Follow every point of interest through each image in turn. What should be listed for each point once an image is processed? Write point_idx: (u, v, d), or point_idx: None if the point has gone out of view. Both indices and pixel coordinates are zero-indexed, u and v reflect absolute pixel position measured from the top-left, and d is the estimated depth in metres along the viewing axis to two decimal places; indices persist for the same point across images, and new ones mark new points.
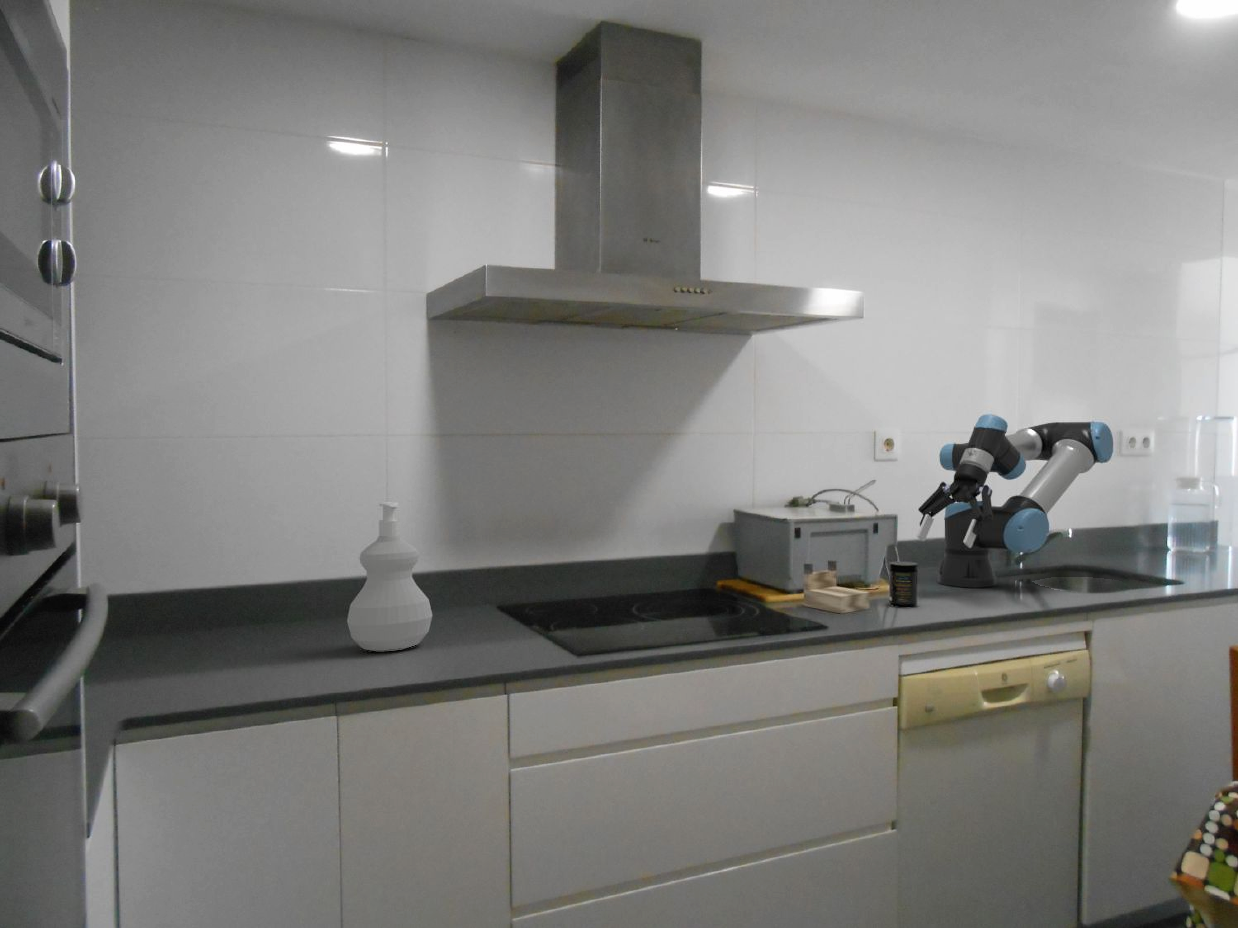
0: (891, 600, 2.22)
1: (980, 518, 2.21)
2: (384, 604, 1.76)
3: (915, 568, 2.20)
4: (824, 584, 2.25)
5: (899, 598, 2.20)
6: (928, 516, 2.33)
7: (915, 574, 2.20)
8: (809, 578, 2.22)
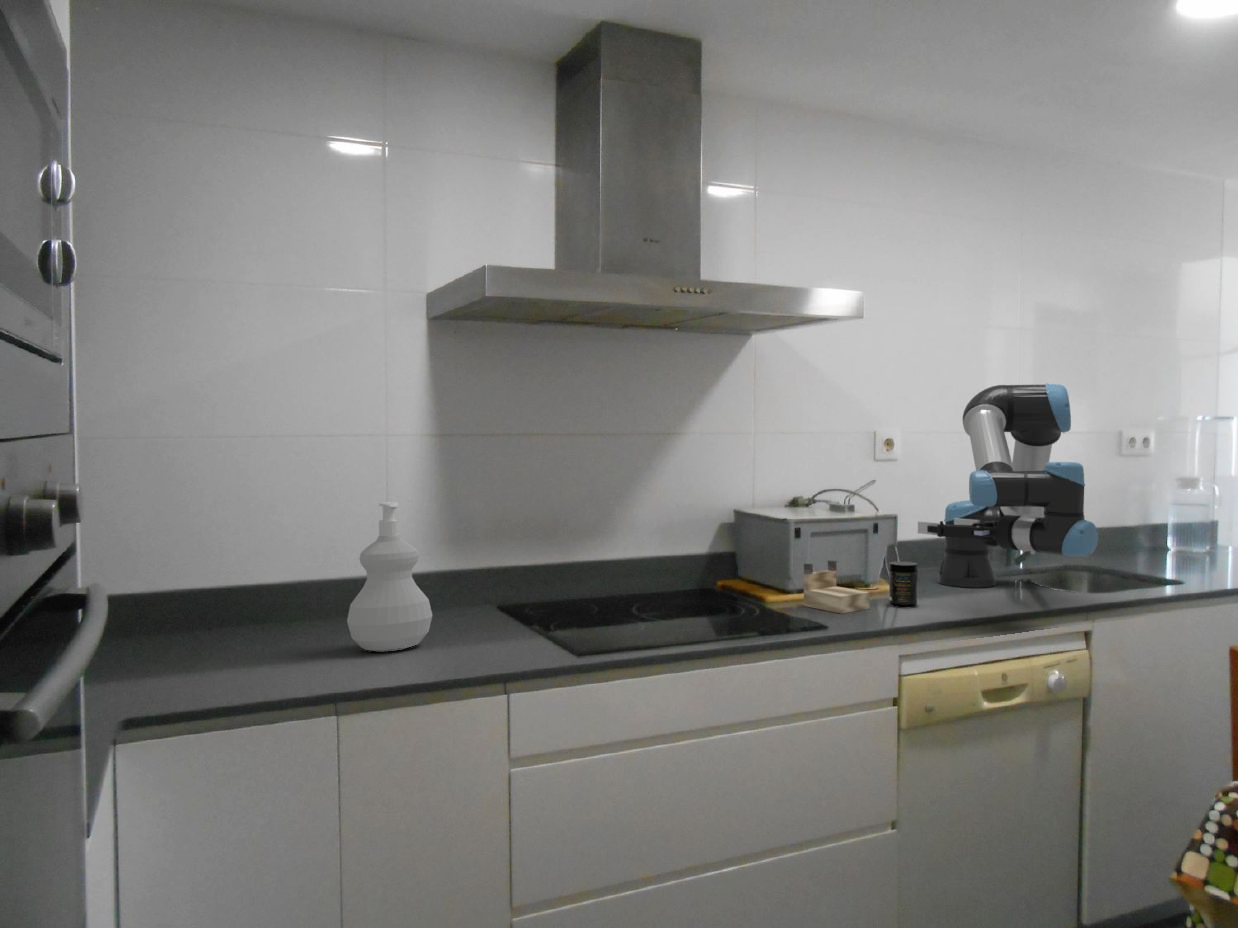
0: (891, 600, 2.22)
1: None
2: (384, 604, 1.76)
3: (915, 568, 2.20)
4: (824, 584, 2.25)
5: (899, 598, 2.20)
6: None
7: (915, 574, 2.20)
8: (809, 578, 2.22)
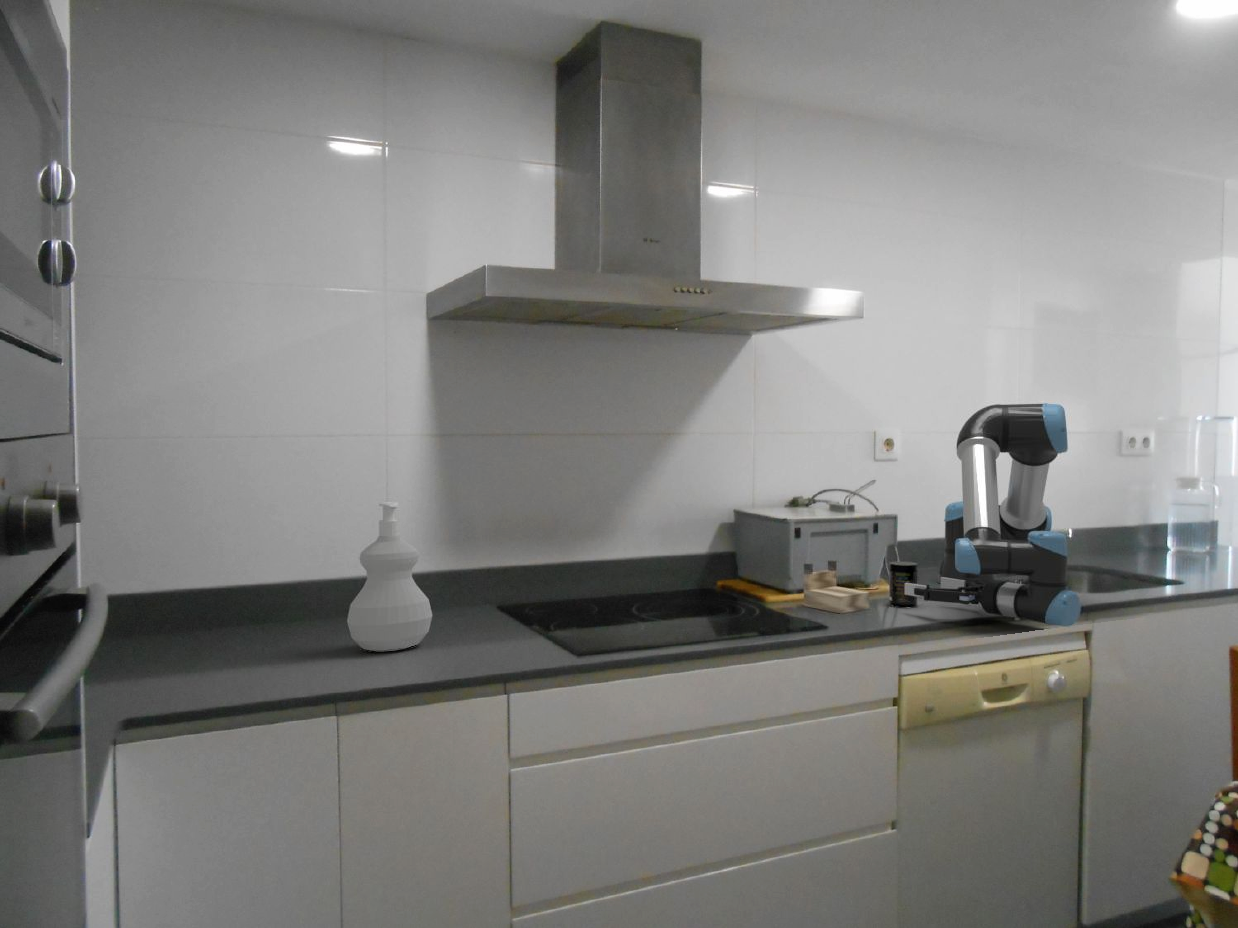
0: (891, 600, 2.22)
1: None
2: (384, 604, 1.76)
3: (915, 568, 2.20)
4: (824, 584, 2.25)
5: (899, 598, 2.20)
6: None
7: (915, 574, 2.20)
8: (809, 578, 2.22)
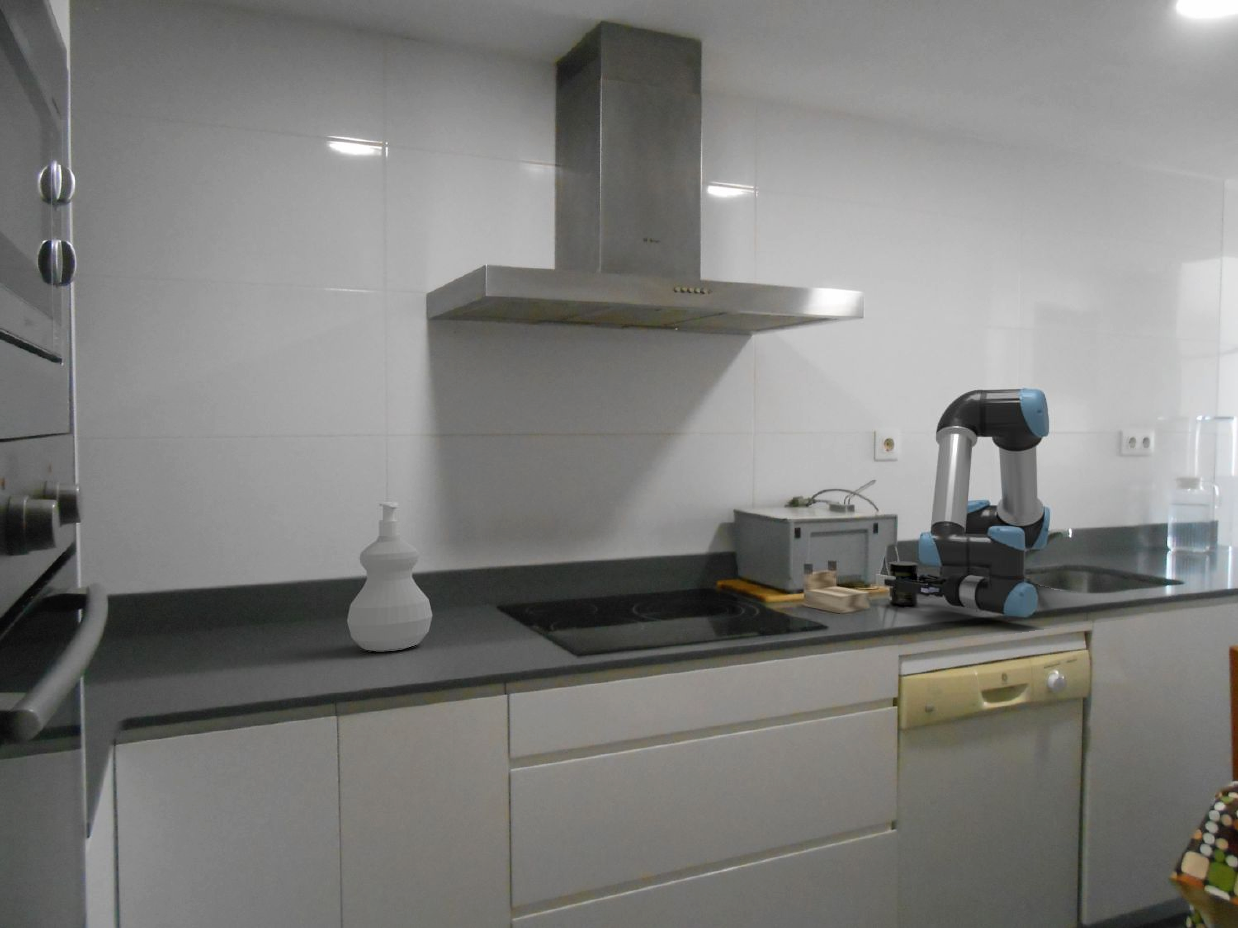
0: (891, 600, 2.22)
1: None
2: (384, 604, 1.76)
3: (915, 568, 2.20)
4: (824, 584, 2.25)
5: (899, 598, 2.20)
6: None
7: (915, 574, 2.20)
8: (809, 578, 2.22)
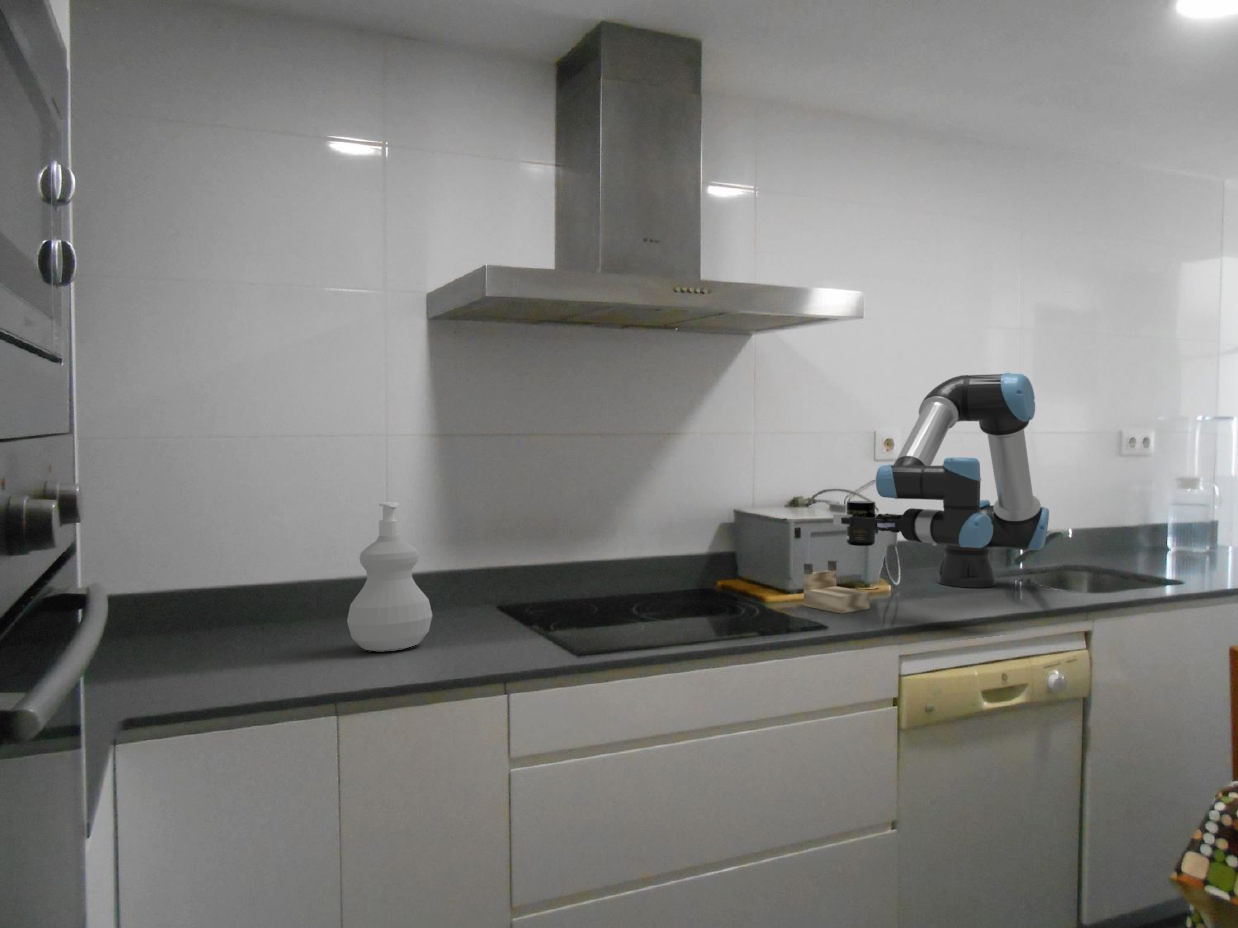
0: (848, 539, 2.19)
1: None
2: (384, 604, 1.76)
3: (872, 506, 2.17)
4: (824, 584, 2.25)
5: (857, 536, 2.17)
6: None
7: (872, 512, 2.18)
8: (809, 578, 2.22)
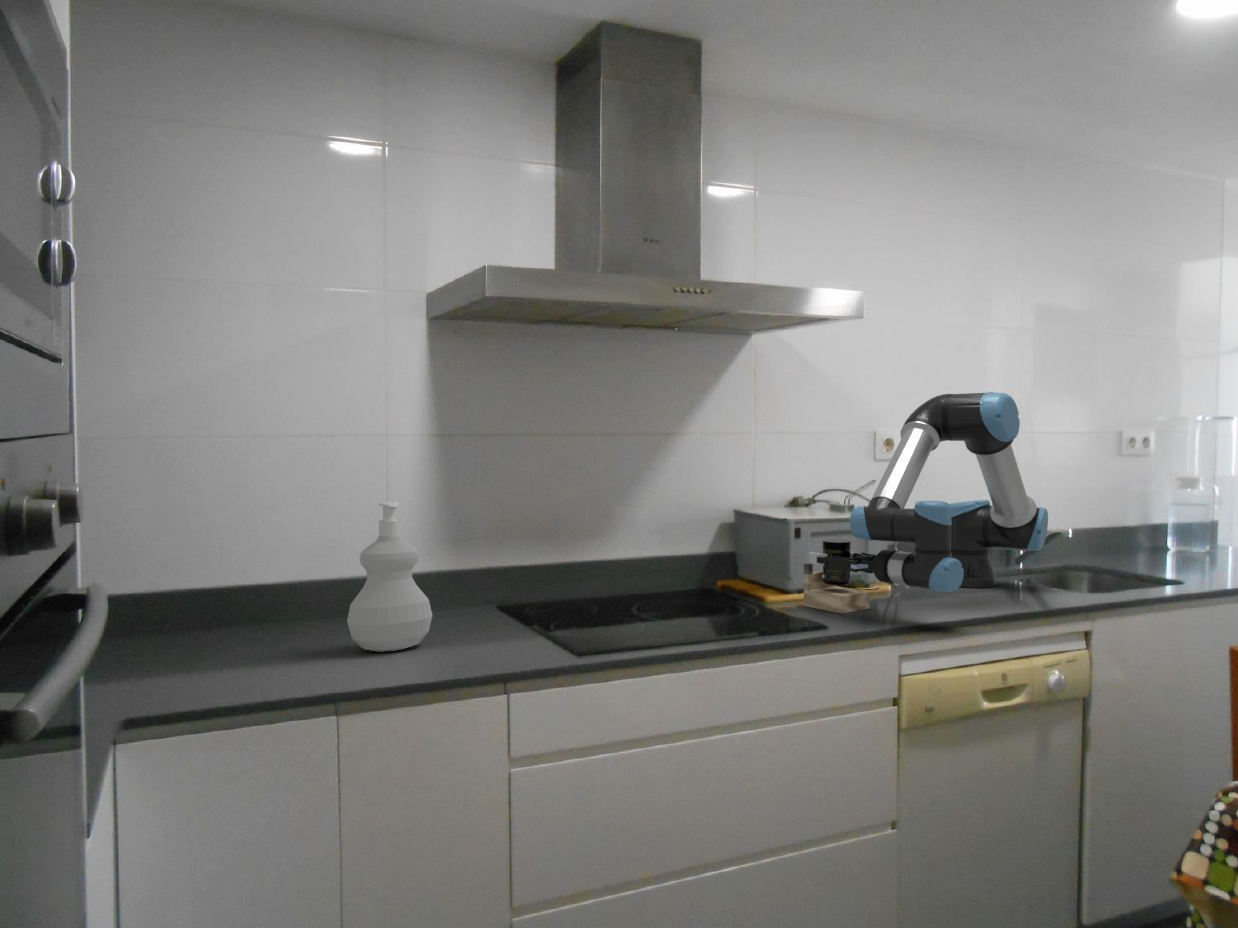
0: (823, 578, 2.20)
1: None
2: (384, 604, 1.76)
3: (848, 545, 2.18)
4: (824, 584, 2.25)
5: (832, 575, 2.18)
6: None
7: (848, 551, 2.18)
8: (809, 578, 2.22)
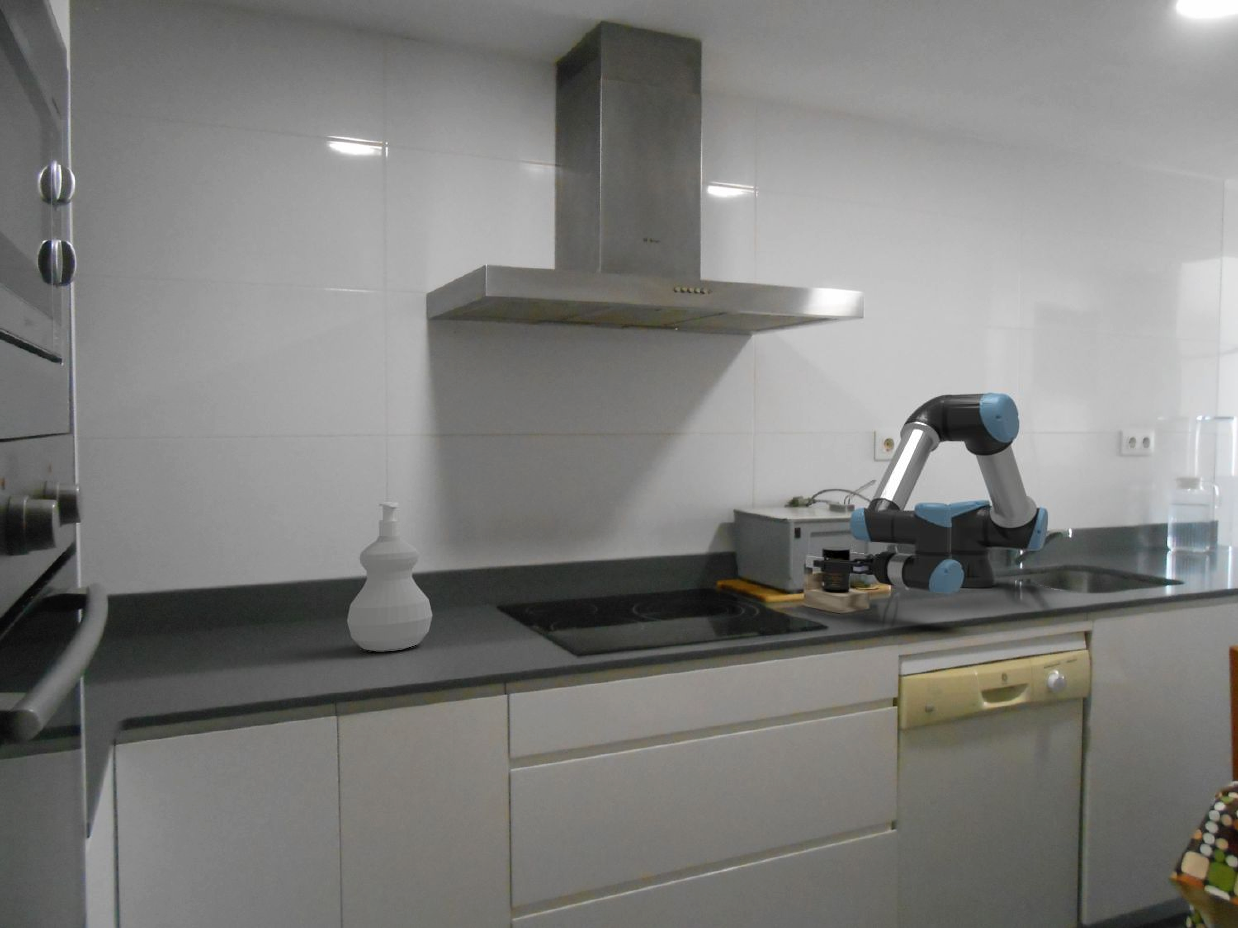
0: (823, 586, 2.20)
1: None
2: (384, 604, 1.76)
3: (847, 553, 2.18)
4: None
5: (831, 583, 2.18)
6: None
7: (847, 559, 2.18)
8: (809, 578, 2.22)
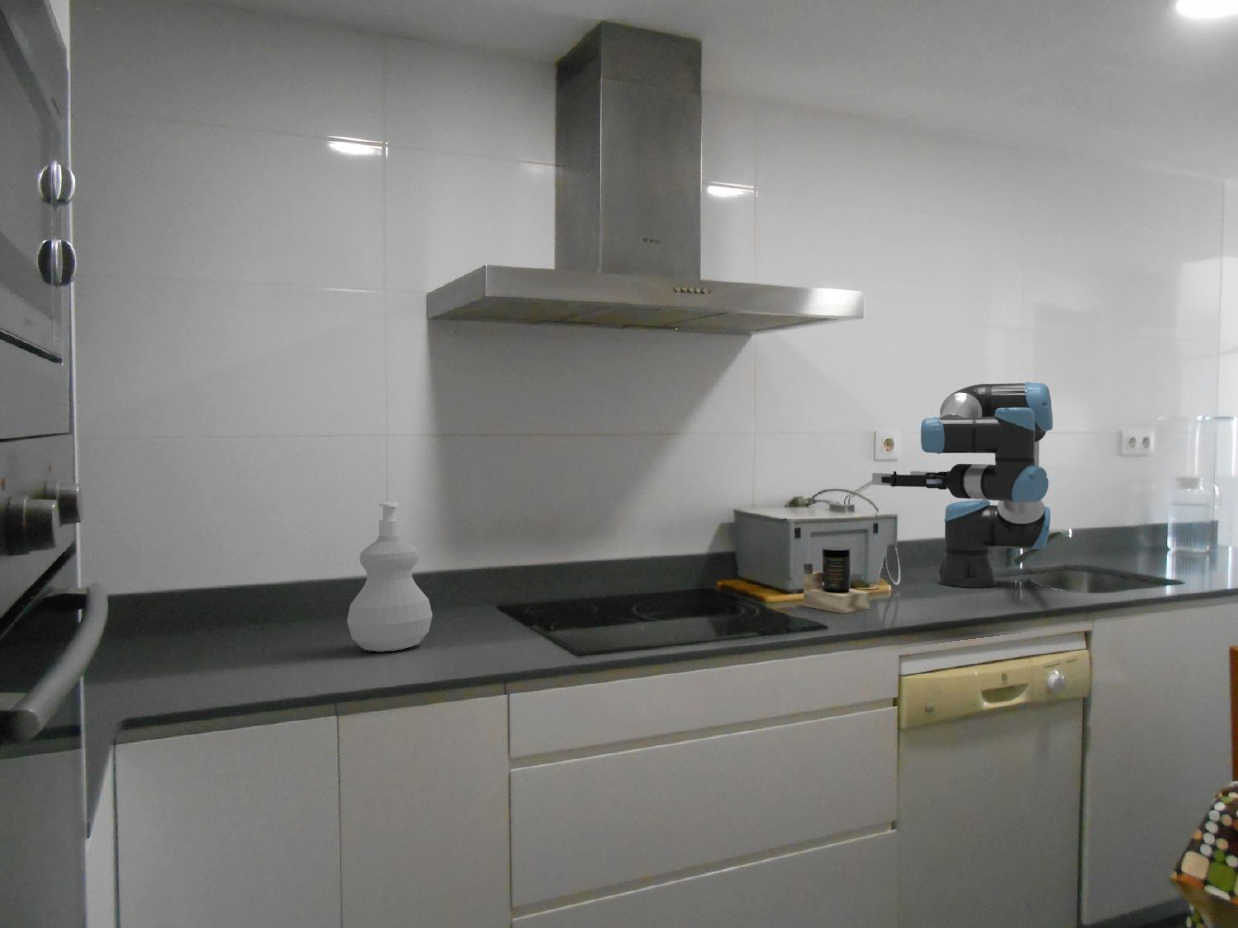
0: (823, 586, 2.20)
1: None
2: (384, 604, 1.76)
3: (847, 553, 2.18)
4: None
5: (831, 583, 2.18)
6: None
7: (847, 559, 2.18)
8: (809, 578, 2.22)
